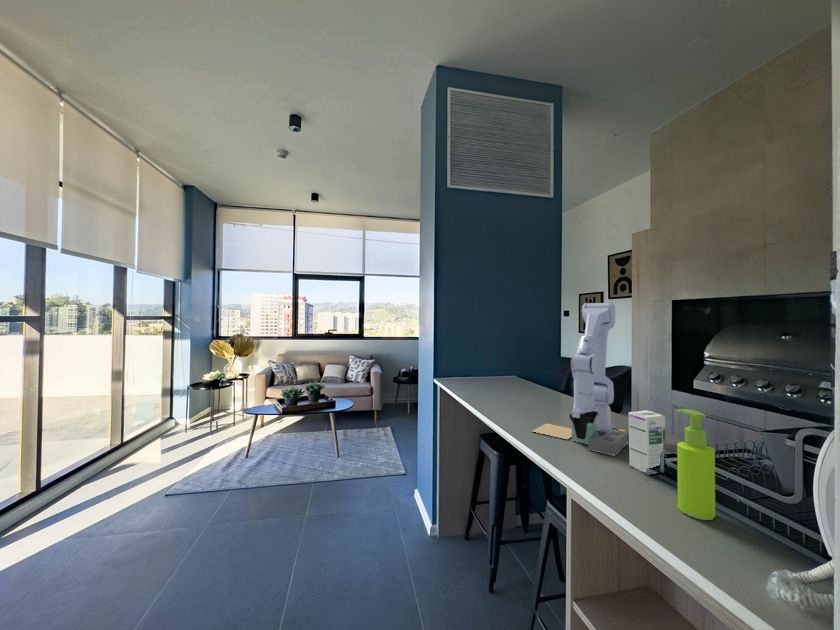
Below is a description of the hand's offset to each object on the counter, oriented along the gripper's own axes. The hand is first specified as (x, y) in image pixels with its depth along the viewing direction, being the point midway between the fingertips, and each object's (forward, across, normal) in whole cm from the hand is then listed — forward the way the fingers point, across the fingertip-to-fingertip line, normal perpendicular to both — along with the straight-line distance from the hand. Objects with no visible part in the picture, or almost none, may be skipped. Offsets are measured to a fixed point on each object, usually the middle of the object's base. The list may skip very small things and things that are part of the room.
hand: (583, 436), depth 111 cm
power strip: (+2, 0, -7) cm, 7 cm away
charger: (+2, 0, -1) cm, 2 cm away
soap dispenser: (+2, -27, -30) cm, 40 cm away
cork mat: (+2, +3, +10) cm, 11 cm away
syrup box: (+2, -11, -19) cm, 22 cm away
